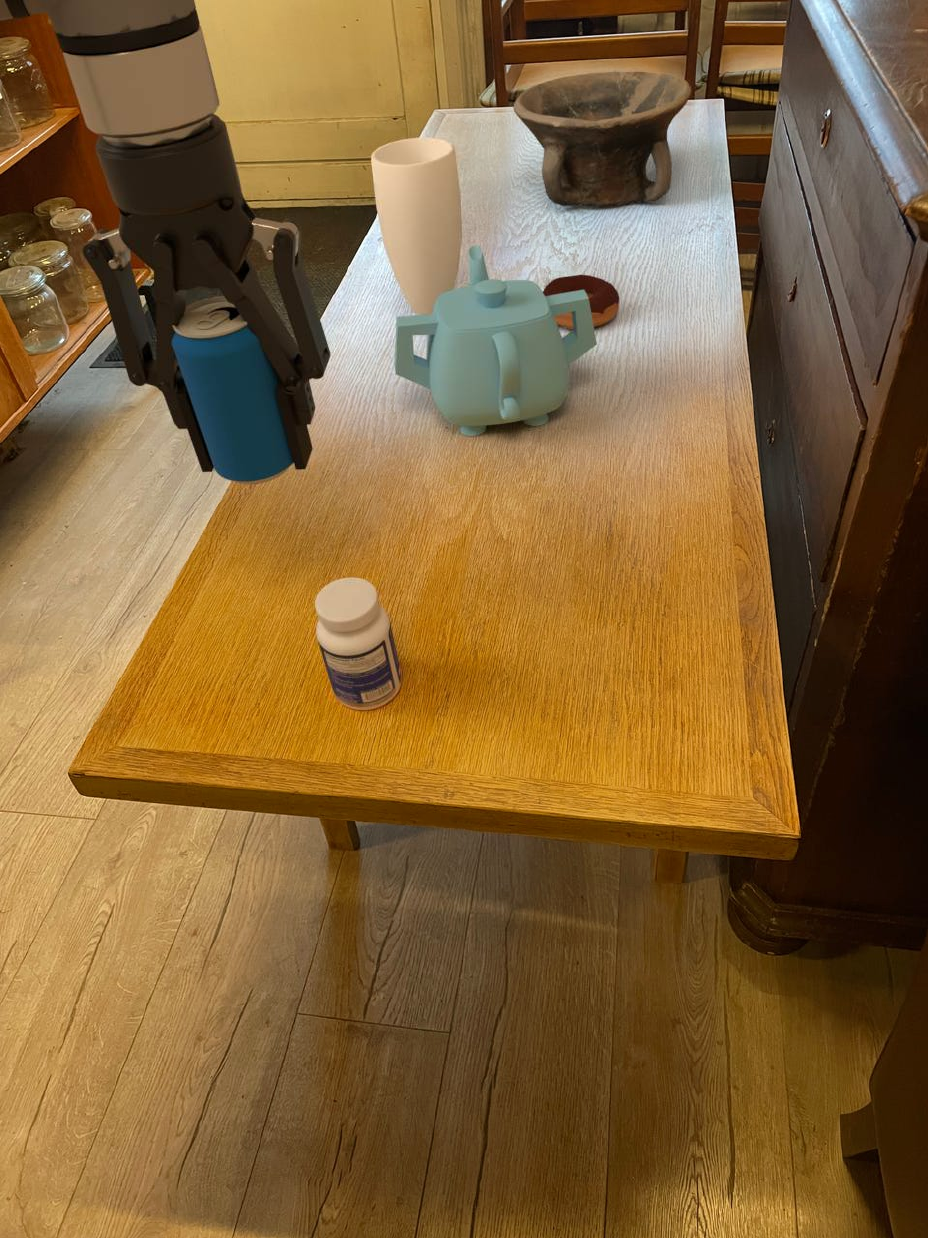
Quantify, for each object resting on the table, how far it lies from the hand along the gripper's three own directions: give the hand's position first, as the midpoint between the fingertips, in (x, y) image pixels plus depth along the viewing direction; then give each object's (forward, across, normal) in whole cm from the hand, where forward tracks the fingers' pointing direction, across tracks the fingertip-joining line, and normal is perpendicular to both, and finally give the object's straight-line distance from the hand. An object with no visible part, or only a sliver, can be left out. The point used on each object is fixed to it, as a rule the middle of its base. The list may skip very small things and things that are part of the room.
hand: (257, 459), depth 67 cm
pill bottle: (+17, -7, +8) cm, 20 cm away
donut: (+17, -25, -55) cm, 63 cm away
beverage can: (+1, 0, 0) cm, 1 cm away
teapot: (+17, -15, -35) cm, 42 cm away
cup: (+17, -6, -53) cm, 56 cm away
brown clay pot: (+17, -29, -97) cm, 103 cm away
